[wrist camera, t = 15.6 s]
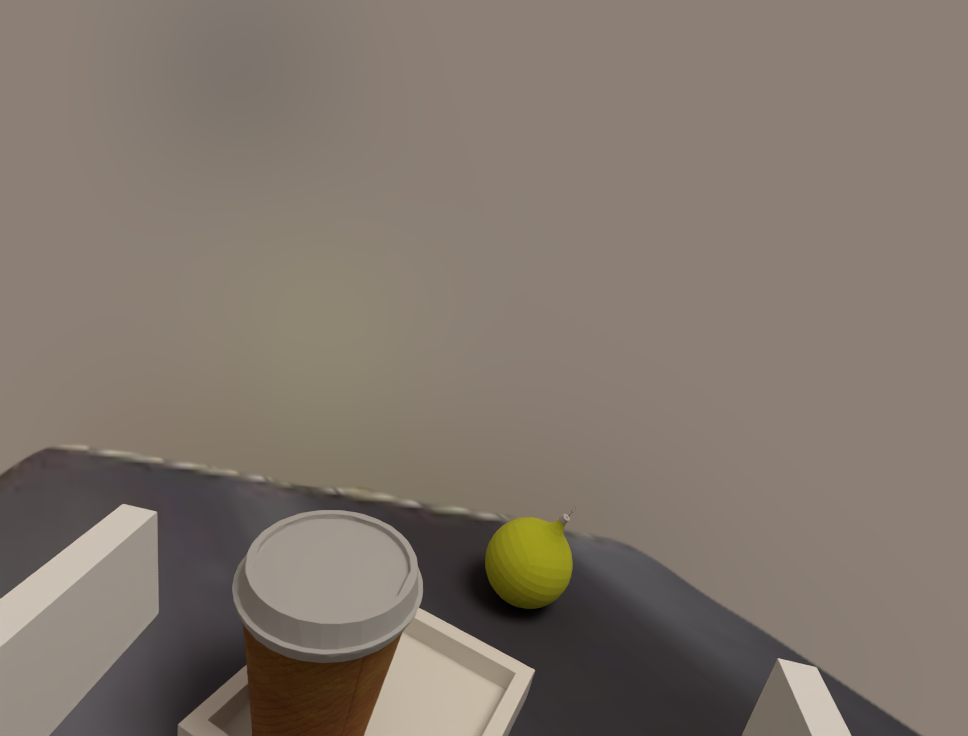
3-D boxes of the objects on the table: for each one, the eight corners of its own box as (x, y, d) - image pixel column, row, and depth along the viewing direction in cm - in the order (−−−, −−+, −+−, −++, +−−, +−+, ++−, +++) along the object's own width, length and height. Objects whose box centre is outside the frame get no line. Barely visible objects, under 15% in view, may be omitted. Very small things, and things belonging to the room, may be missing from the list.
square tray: (526, 697, 40) (535, 670, 39) (410, 936, 27) (419, 902, 26) (348, 598, 45) (352, 572, 44) (176, 757, 32) (177, 724, 31)
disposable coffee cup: (240, 658, 37) (255, 498, 33) (390, 661, 39) (421, 511, 35) (198, 818, 29) (210, 629, 25) (394, 811, 31) (434, 635, 27)
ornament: (572, 628, 47) (606, 525, 43) (487, 629, 45) (516, 521, 42) (545, 568, 53) (572, 473, 50) (470, 566, 51) (493, 468, 48)
